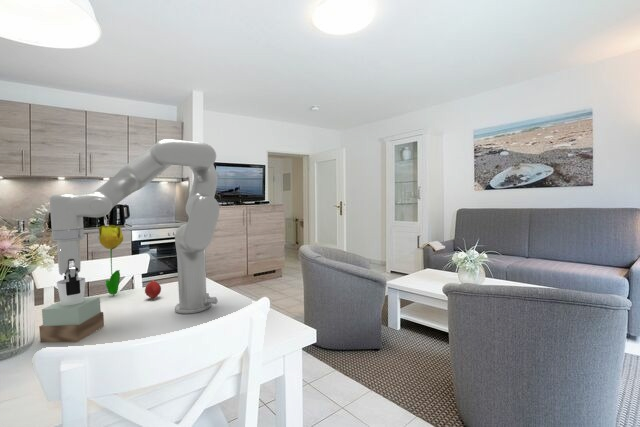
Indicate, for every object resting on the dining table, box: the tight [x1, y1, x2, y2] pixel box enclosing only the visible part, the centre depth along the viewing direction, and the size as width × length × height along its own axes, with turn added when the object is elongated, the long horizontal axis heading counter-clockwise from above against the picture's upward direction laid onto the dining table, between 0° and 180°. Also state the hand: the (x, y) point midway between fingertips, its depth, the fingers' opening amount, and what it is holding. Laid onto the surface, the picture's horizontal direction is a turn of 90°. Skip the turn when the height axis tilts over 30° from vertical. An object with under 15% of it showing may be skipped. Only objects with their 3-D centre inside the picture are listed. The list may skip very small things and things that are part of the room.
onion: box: [144, 279, 162, 300], centre depth 129 cm, size 6×6×8 cm
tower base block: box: [38, 311, 105, 343], centre depth 97 cm, size 11×11×5 cm
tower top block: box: [41, 296, 102, 326], centre depth 97 cm, size 10×10×5 cm
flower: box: [98, 224, 124, 297], centre depth 133 cm, size 9×8×30 cm
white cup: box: [56, 277, 86, 306], centre depth 97 cm, size 7×7×7 cm
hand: (72, 290), depth 97 cm, fingers open, 9 cm apart
